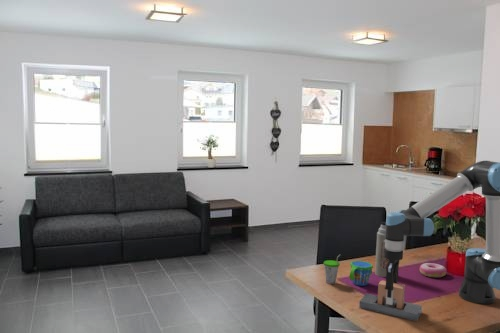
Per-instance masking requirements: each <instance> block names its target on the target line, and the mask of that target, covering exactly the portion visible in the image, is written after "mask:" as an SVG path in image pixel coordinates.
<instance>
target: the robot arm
mask: <svg viewBox="0 0 500 333" xmlns="http://www.w3.org/2000/svg"><path fill="white" fill-rule="evenodd" d="M477 188H481V195H482V196H483V197H484V198H485V248H475V247H470V248H468V249H466V252H465V260H464V262H465V263H464V274H463V275H464V277H463V281H462V282H461V285H460V287H459V289H458V295H459V297H460V298H461V299H463V300H465V301H468V302H471V303H475V304H481V305H482V304H483V305H489V304H494V303H496V302H495V301H496V293H495V290H498V291H500V162H496V161H492V160H479V161H477V162H475V163H473V164H471V165H469V166H468V167H466V168H464V169H463V170H461V171H459V172H458V173H457V174H456V177H454V178H453V179H452V180H450V181H449V182H447V183H446V184H444V185H442V186H441V187H440V188H438V189H436V190H435V191H433V192H431V193H430V194H428V195H427V196H425V197H424V198H422V199H421V200H419V201H418V202H416V203H414V204H413V205H412V206H409V208H407V209H400V210H398V211H397V212H394V211H393V212H392V211H391V212H388V213H387V215H386V219H385V222H386V236H385V240H384V242H385V252H384V257H385V258H386V259H388V260H389V263H387V268H386V277H385V281H386V287H385V289H387V292H386V297H385V298H386V304H389V305H393V300H397V299H394V298H393V291H394V290H393V284H394V283H397V284H400V283H399V268H400V267H399V266H400V265H399V264H400V261H402V260H403V258H404V246H405V237H406V236H407V237H410V236H411V237H431V236H432V235H433V233H434V231H435V224H434V222H433V220H432V219H431V218H430V217H429V216H431V215H433V214H434V213H435V212H437V211H438V210H440V209H441V208H443V207H444V206H447V205H448V204H450V203H451V202H452V201H454V200H455V199H457V198H458V197H460V196H462V195H463V194H464V193H466V192H468V191H469V192H472V191H474V190H475V189H477ZM427 217H429V218H427ZM494 289H495V290H494Z"/></svg>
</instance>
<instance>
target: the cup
mask: <svg viewBox="0 0 500 333" xmlns="http://www.w3.org/2000/svg"><path fill="white" fill-rule="evenodd" d="M340 256H342V255H341V254H339V255H338V256H337V257H336V260H332V259H331V260H330V259H327V260H324V261H323V266H324V273H325V274H324V275H325V283H326V284H327V285H335V284H336V282H337V277H338V276H337V275H338V271H339V266H340V262H339V258H340Z"/></svg>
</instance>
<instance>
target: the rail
mask: <svg viewBox="0 0 500 333" xmlns="http://www.w3.org/2000/svg"><path fill="white" fill-rule="evenodd" d="M377 301H378V295H374V294H370V293H365V294H364V295H363V297H362V298H361V299H360V300H359V305H358V306H359V309H364V310H368V311H372V312H377V313H380V314H384V315H389V316H391V317H397V318H401V319H406V320H410V321H413V322H414V321H415V322H419V320H420V317H421V314H422V312H423V306H422V305H420V304H416V303H412V302H406V301H404V308H403V309H399V308H396V306H397V299H396V300H393V305H389V304H386V297H385V304H384V305H381V304H377Z"/></svg>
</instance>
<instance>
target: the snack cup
mask: <svg viewBox="0 0 500 333" xmlns="http://www.w3.org/2000/svg"><path fill="white" fill-rule="evenodd" d="M349 265H350V267H351V269H350V271H349V278H348V279H349V280H351V281H352V283H353V284H354V285H355V286H360V287H361V286H362V287H366V286H367V285H369V282H370V278H371V275H372V274H373V264H372V263H370V262H367V261H363V260H354V261H351V262H350V264H349Z"/></svg>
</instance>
